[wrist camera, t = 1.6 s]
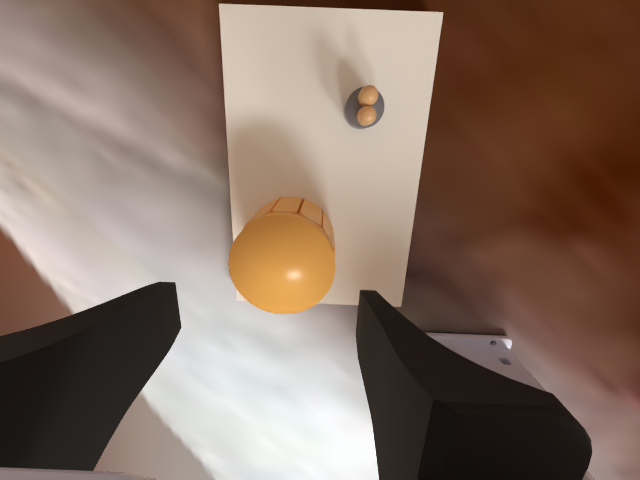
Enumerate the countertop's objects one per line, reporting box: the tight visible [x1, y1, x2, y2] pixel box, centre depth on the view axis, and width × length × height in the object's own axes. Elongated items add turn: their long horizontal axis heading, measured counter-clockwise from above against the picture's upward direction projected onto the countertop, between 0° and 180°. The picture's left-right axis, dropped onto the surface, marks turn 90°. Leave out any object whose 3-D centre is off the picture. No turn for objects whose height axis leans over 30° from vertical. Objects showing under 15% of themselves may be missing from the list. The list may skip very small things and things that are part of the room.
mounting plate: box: [219, 4, 443, 307], centre depth 18 cm, size 12×18×5 cm, turn 178°
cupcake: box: [229, 197, 335, 314], centre depth 18 cm, size 6×6×5 cm
